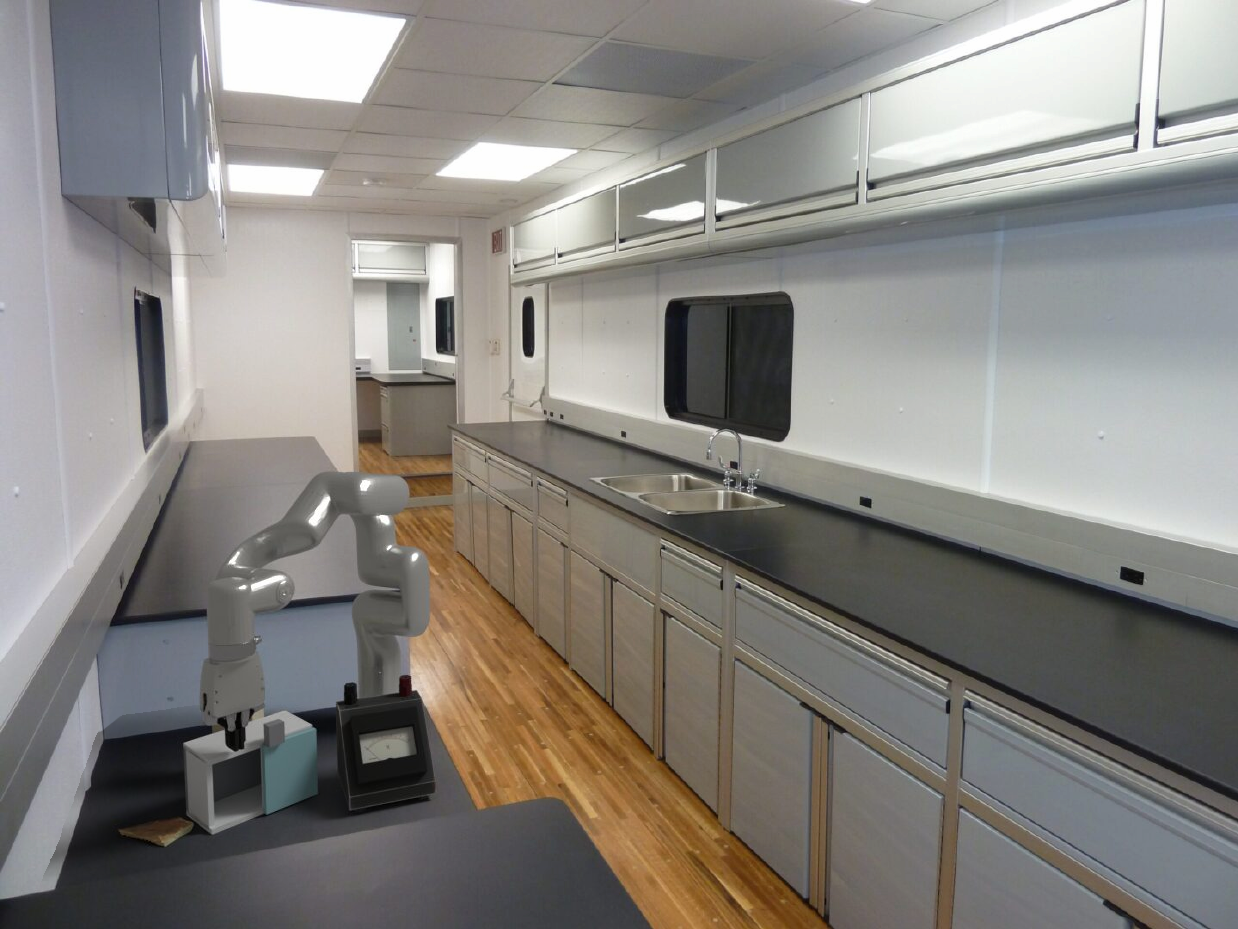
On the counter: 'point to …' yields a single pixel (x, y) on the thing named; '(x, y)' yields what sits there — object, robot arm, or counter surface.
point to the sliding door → (288, 766)
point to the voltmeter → (383, 747)
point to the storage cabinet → (229, 775)
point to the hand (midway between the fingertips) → (235, 748)
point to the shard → (159, 830)
